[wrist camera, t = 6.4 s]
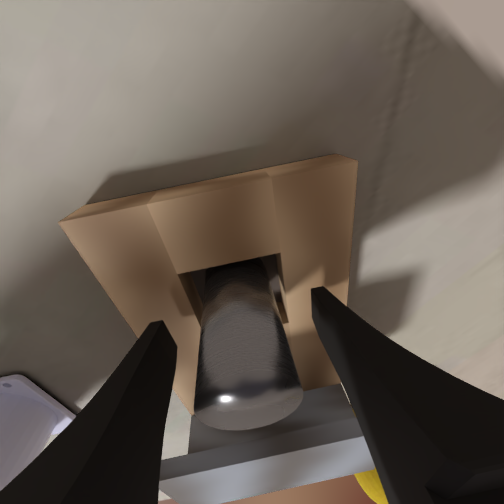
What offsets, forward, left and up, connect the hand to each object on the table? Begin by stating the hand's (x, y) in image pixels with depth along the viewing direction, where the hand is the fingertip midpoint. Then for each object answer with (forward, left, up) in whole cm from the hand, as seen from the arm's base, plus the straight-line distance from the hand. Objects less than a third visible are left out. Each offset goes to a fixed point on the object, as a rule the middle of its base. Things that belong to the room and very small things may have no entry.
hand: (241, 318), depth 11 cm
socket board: (0, -3, -3) cm, 4 cm away
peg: (0, 0, -3) cm, 3 cm away
